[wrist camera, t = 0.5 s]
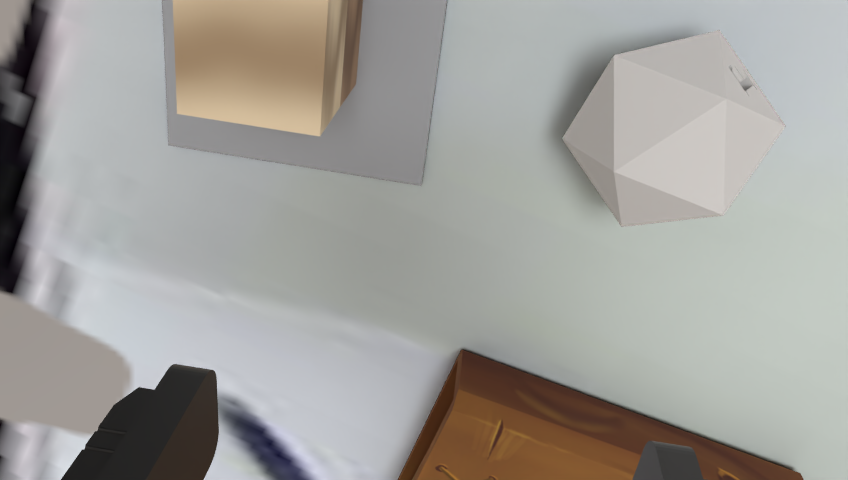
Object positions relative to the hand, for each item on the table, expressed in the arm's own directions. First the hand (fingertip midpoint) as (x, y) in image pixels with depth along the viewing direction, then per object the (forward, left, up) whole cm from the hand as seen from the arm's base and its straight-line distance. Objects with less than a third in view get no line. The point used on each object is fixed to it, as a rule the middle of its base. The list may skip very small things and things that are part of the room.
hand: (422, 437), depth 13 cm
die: (0, +9, -26) cm, 28 cm away
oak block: (-2, -9, -21) cm, 23 cm away
